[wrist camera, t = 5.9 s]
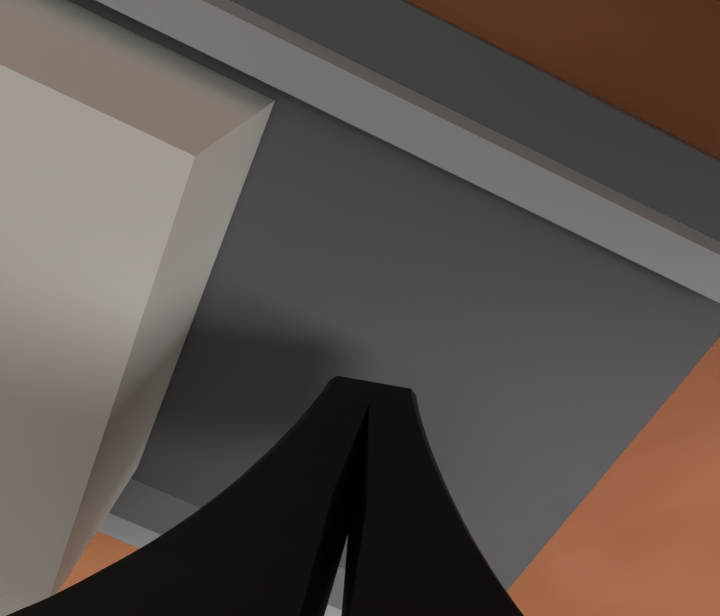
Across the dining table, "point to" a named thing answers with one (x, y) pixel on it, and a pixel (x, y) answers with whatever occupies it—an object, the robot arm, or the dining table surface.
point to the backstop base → (430, 264)
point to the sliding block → (98, 261)
